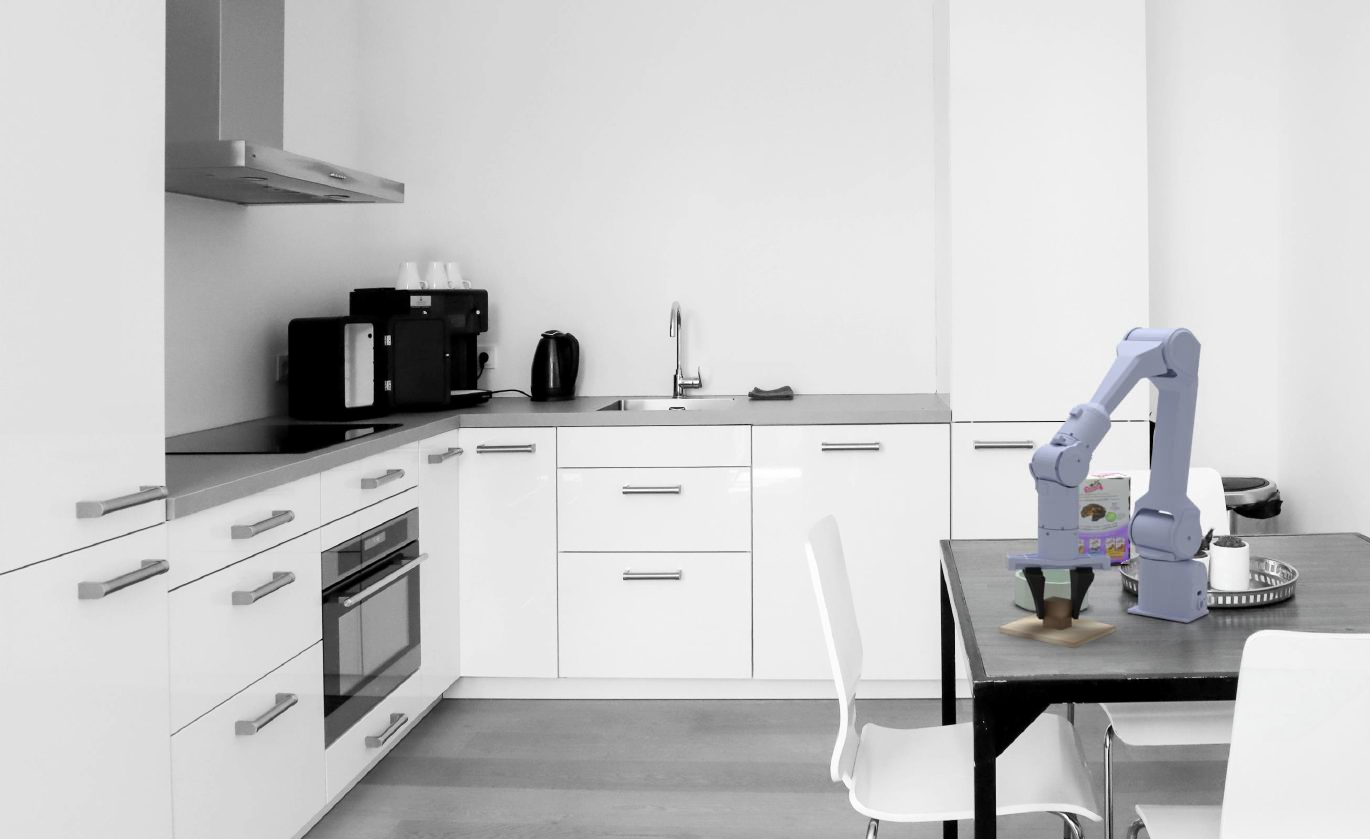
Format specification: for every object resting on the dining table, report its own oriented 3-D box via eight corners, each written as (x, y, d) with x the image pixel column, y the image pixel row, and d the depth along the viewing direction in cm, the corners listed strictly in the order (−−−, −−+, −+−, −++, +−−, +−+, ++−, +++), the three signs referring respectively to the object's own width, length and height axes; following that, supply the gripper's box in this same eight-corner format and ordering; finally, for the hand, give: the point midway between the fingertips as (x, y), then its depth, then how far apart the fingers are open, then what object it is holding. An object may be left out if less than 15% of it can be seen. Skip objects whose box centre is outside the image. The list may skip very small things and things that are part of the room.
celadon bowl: (1100, 605, 187) (1100, 574, 187) (1066, 618, 179) (1066, 586, 179) (1037, 594, 195) (1037, 564, 194) (1002, 606, 187) (1002, 576, 187)
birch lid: (1115, 630, 172) (1115, 598, 172) (1074, 648, 164) (1074, 614, 163) (1041, 616, 181) (1041, 585, 180) (999, 632, 173) (999, 600, 172)
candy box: (1118, 558, 220) (1119, 471, 218) (1131, 565, 214) (1132, 476, 212) (1045, 560, 219) (1046, 473, 218) (1056, 567, 213) (1057, 478, 212)
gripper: (1101, 521, 174) (1100, 610, 175) (1002, 521, 175) (1002, 610, 177) (1115, 530, 167) (1113, 623, 168) (1011, 530, 168) (1010, 623, 170)
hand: (1057, 617), depth 172 cm, fingers closed on birch lid, 4 cm apart
